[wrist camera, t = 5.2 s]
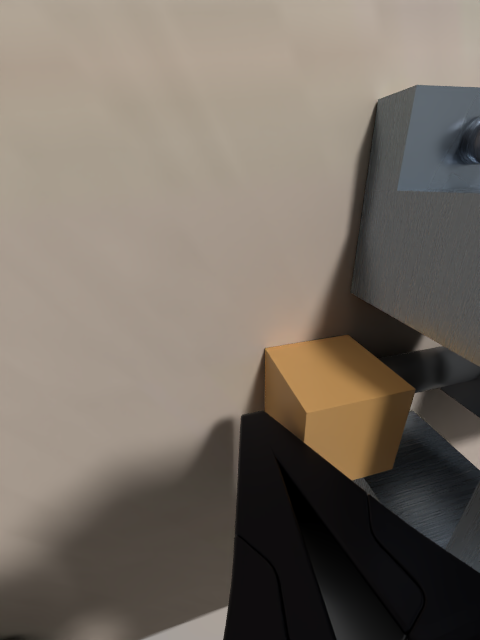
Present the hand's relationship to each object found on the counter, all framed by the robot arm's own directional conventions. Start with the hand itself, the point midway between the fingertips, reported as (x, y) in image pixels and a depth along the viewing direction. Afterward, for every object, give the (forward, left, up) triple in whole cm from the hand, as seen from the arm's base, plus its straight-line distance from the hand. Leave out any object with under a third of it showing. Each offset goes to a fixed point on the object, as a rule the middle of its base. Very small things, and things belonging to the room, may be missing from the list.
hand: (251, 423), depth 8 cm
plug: (+7, 0, -2) cm, 8 cm away
